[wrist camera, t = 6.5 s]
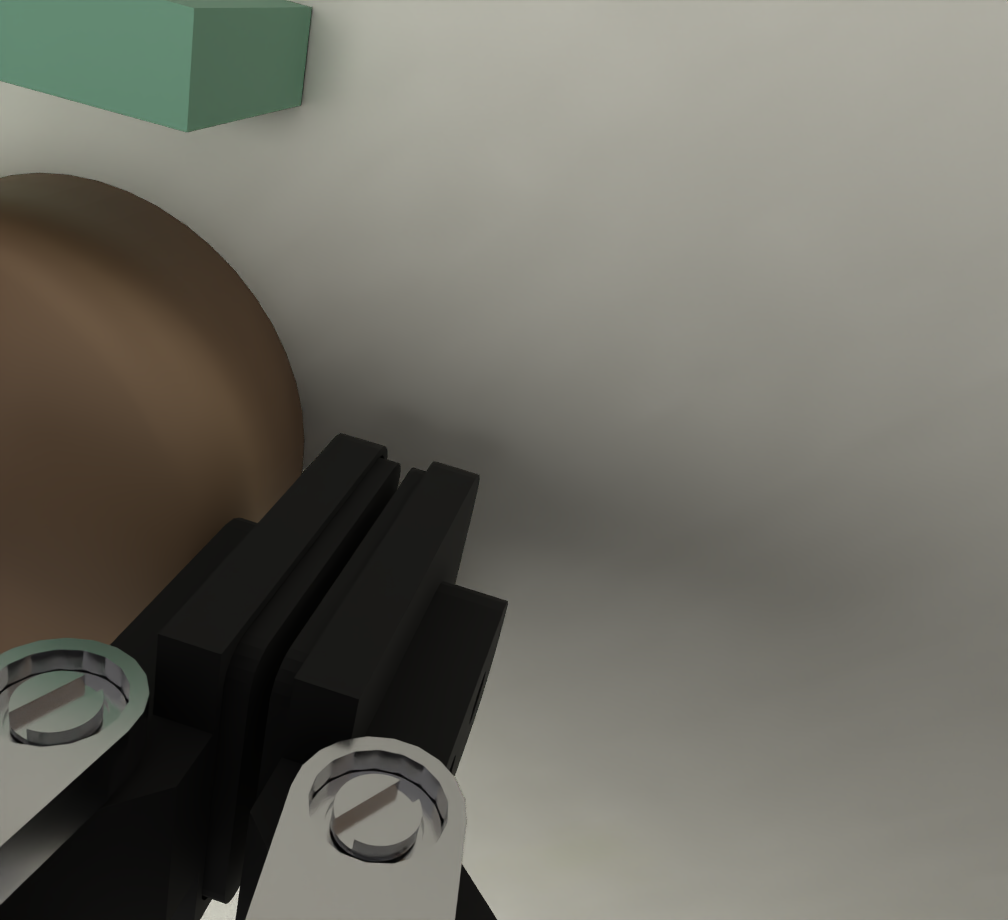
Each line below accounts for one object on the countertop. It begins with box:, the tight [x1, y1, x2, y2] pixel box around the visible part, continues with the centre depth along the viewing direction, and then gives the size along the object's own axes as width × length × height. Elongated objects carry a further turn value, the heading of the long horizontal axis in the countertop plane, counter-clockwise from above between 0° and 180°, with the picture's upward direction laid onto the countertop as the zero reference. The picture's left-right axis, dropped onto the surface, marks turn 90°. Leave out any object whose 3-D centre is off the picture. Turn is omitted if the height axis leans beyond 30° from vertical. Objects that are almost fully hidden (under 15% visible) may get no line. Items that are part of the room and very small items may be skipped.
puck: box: [0, 173, 304, 654], centre depth 12 cm, size 6×6×3 cm
